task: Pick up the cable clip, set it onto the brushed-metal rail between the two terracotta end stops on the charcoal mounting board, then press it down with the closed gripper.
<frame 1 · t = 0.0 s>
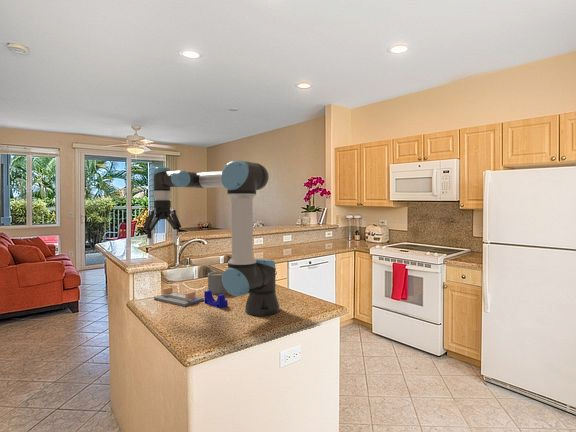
hand: (163, 244, 170), 28 cm above the countertop, tool pointing down, fingers open, 13 cm apart
rail mount: (178, 300, 174), on the countertop
coffee mug: (217, 291, 191), on the countertop
cable clip: (215, 305, 166), on the countertop
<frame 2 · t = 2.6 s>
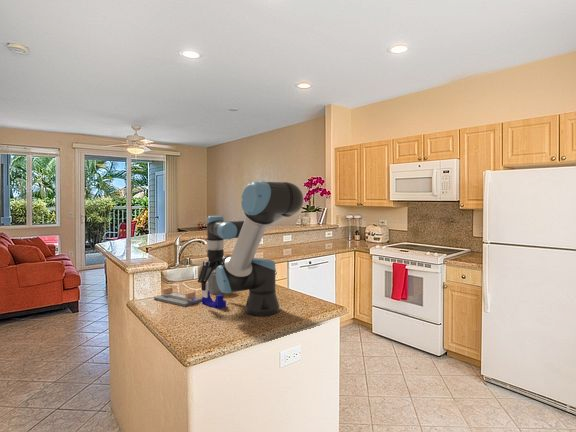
hand: (215, 293, 166), 5 cm above the countertop, tool pointing down, fingers open, 13 cm apart
cable clip: (214, 306, 165), on the countertop
everything else where it was.
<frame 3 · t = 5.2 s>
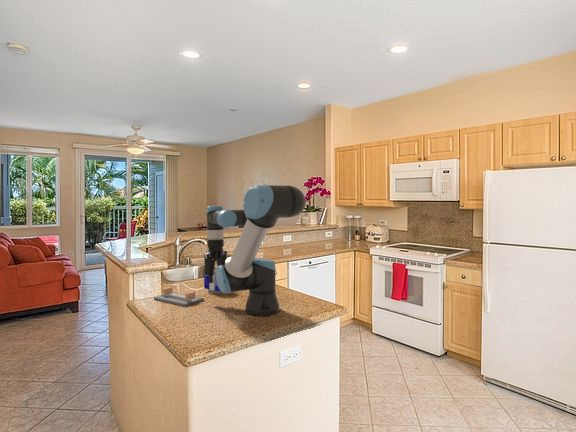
hand: (216, 288, 165), 8 cm above the countertop, tool pointing down, fingers closed on cable clip, 5 cm apart
cable clip: (216, 289, 165), point 7 cm above the countertop, touching gripper
everything else where it was.
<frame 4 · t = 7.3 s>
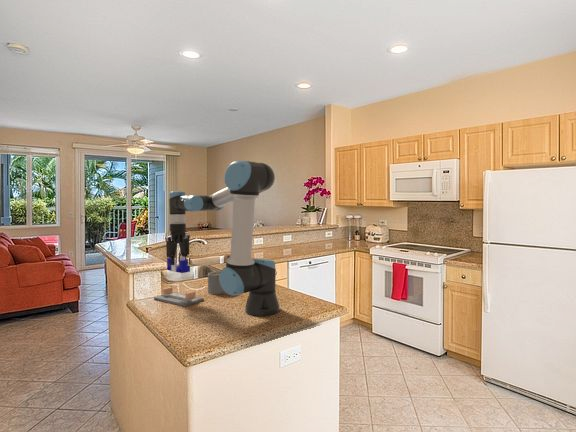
hand: (178, 270, 173), 15 cm above the countertop, tool pointing down, fingers closed on cable clip, 5 cm apart
cable clip: (178, 271, 173), point 14 cm above the countertop, touching gripper
everything else where it was.
when the fingers open (3 cm above the countertop, at t = 9.6 s): cable clip stays where it is, resting on rail mount.
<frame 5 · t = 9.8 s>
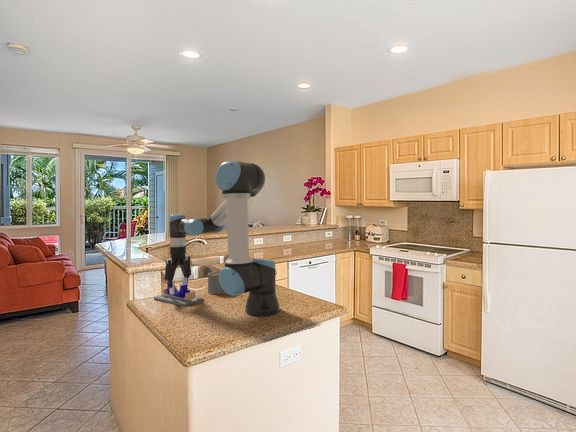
hand: (178, 292, 173), 4 cm above the countertop, tool pointing down, fingers open, 7 cm apart
cable clip: (178, 295, 173), point 2 cm above the countertop, touching rail mount
everything else where it was.
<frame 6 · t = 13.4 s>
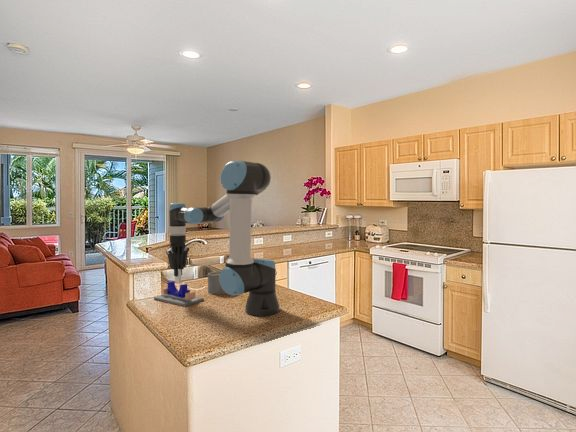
hand: (178, 282, 173), 9 cm above the countertop, tool pointing down, fingers closed
cable clip: (178, 295, 174), point 2 cm above the countertop, touching gripper, rail mount
everything else where it was.
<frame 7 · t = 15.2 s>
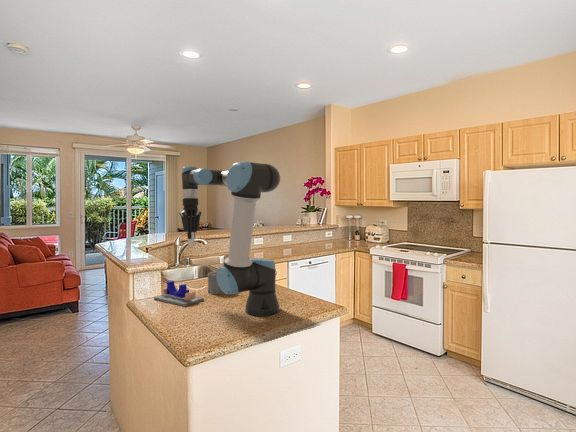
hand: (191, 245, 176), 27 cm above the countertop, tool pointing down, fingers closed
cable clip: (178, 295, 174), point 2 cm above the countertop, touching rail mount
everything else where it was.
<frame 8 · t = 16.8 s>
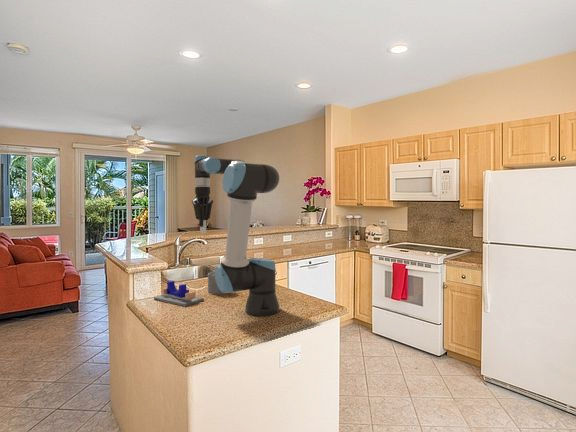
hand: (203, 232, 180), 32 cm above the countertop, tool pointing down, fingers closed
nothing on the countertop moved.
at the end: cable clip 1.0 cm off-centre on the rail mount, point 2.2 cm above the rail mount's base; cable clip tilted 0°; the gripper is holding nothing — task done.
